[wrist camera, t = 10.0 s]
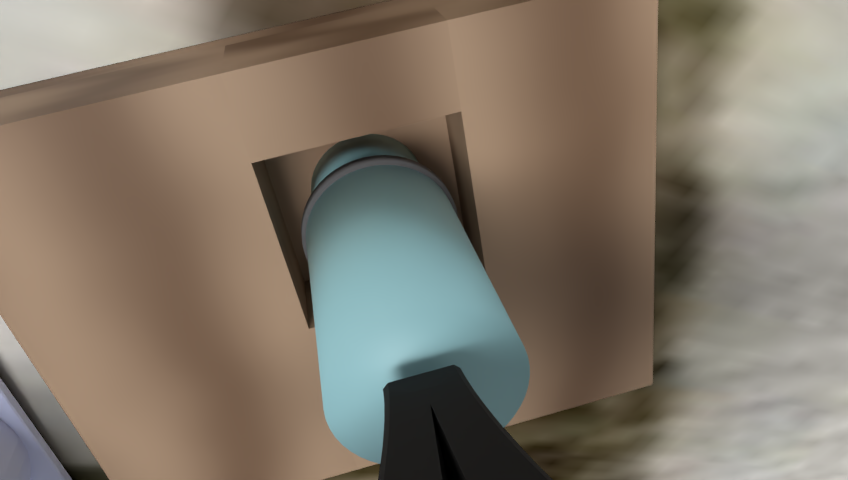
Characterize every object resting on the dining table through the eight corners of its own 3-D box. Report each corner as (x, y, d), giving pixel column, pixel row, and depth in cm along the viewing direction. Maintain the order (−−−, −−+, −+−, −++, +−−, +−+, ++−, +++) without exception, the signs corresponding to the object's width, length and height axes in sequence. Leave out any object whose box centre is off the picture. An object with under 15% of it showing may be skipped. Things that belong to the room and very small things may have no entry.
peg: (316, 259, 21) (344, 492, 14) (280, 138, 19) (291, 336, 11) (444, 228, 22) (541, 438, 14) (424, 106, 19) (526, 276, 12)
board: (156, 454, 25) (143, 530, 22) (-50, 101, 18) (-109, 150, 15) (611, 327, 26) (652, 384, 24) (600, -49, 19) (658, -30, 16)
